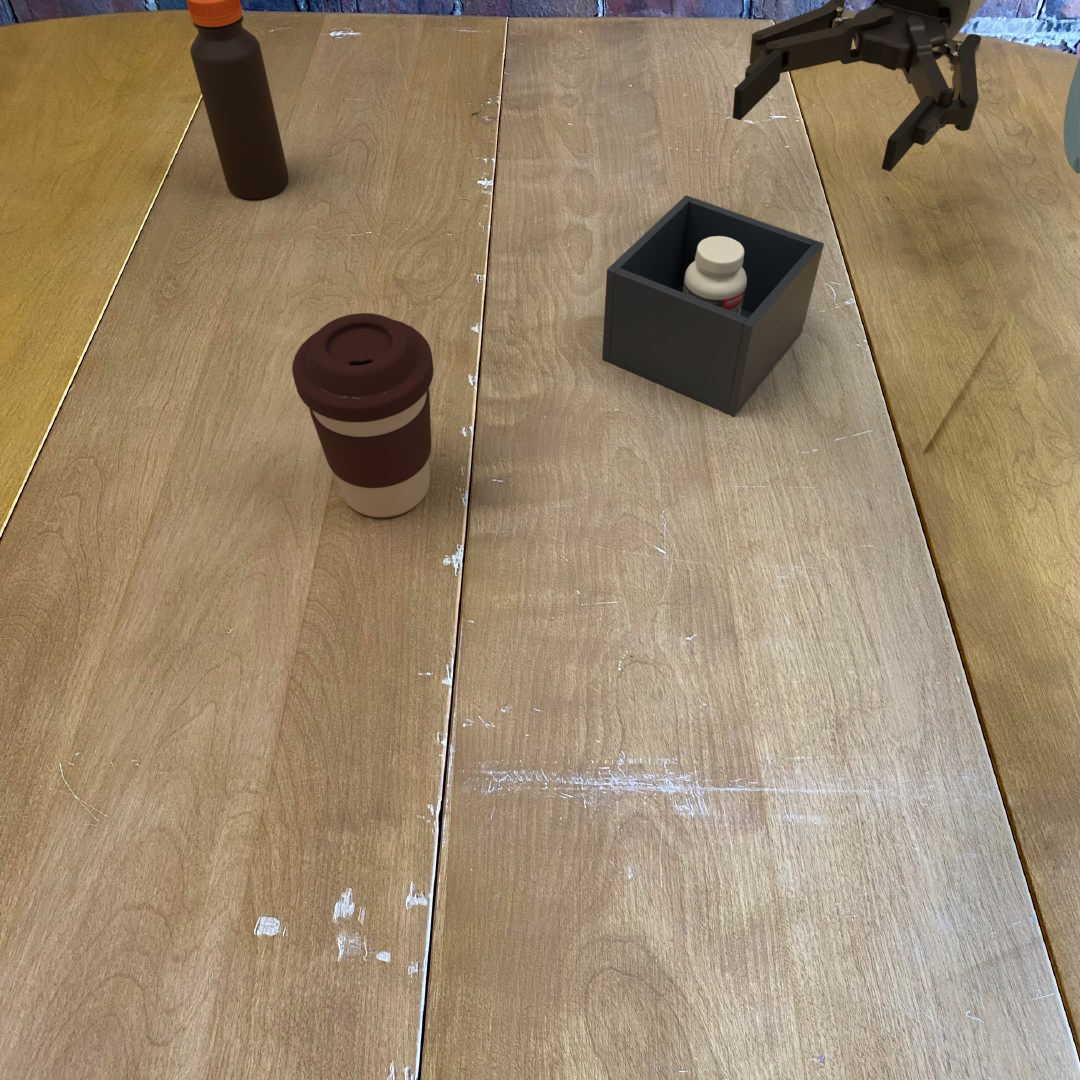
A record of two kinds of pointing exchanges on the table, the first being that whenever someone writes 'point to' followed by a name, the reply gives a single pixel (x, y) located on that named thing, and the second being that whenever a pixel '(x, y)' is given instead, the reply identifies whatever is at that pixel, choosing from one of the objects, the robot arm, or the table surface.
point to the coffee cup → (370, 409)
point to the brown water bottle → (237, 99)
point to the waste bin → (707, 306)
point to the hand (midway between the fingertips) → (810, 129)
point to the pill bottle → (718, 273)
